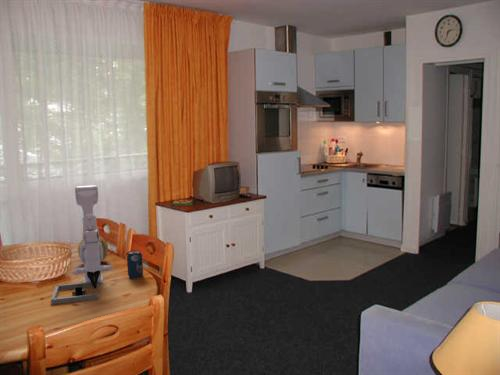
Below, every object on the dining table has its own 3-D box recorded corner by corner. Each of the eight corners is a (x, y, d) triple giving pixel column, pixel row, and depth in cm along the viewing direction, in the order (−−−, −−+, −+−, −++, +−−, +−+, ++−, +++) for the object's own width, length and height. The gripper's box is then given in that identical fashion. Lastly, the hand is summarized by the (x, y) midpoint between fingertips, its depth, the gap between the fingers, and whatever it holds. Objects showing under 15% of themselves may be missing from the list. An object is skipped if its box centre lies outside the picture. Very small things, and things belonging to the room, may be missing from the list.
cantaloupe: (79, 260, 255) (77, 232, 253) (108, 257, 259) (106, 230, 257) (78, 269, 241) (76, 239, 239) (109, 265, 245) (107, 236, 243)
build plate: (88, 300, 203) (87, 289, 202) (69, 303, 200) (68, 292, 199) (87, 290, 214) (86, 280, 213) (70, 292, 212) (69, 282, 211)
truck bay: (56, 289, 214) (56, 285, 214) (99, 284, 219) (99, 280, 218) (51, 304, 197) (50, 299, 197) (98, 299, 202) (97, 294, 202)
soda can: (141, 279, 225) (139, 254, 223) (126, 279, 225) (124, 254, 223) (144, 274, 232) (143, 249, 230) (130, 274, 232) (128, 249, 230)
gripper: (73, 261, 202) (76, 293, 204) (110, 258, 205) (112, 289, 207) (75, 257, 209) (77, 287, 211) (110, 254, 212) (112, 283, 214)
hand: (94, 288), depth 210 cm, fingers closed
